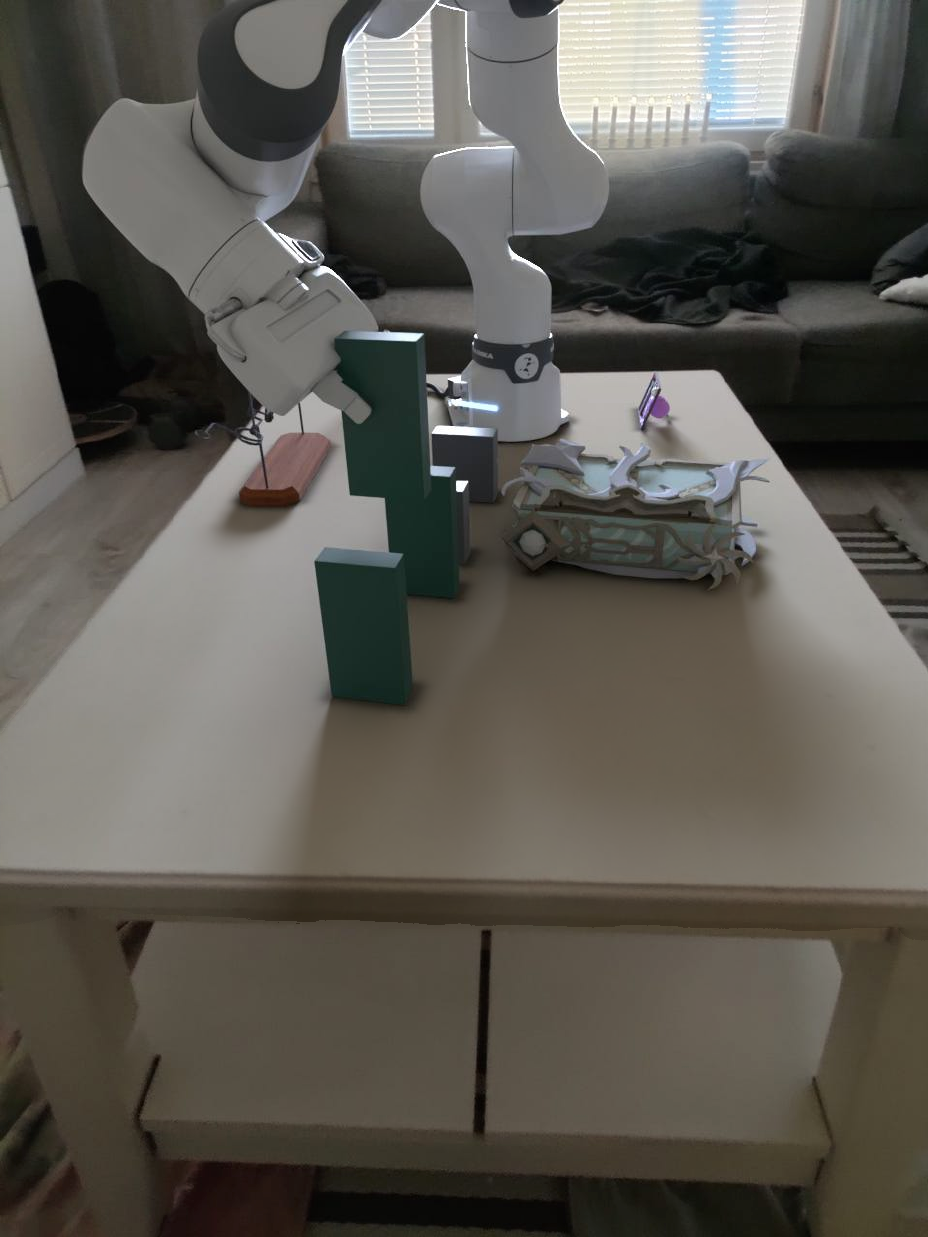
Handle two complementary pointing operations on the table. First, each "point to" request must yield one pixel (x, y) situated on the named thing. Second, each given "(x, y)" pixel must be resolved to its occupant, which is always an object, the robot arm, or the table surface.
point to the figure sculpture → (279, 462)
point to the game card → (653, 402)
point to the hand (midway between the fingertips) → (375, 408)
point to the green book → (387, 414)
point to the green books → (387, 593)
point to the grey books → (468, 470)
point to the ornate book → (631, 513)
